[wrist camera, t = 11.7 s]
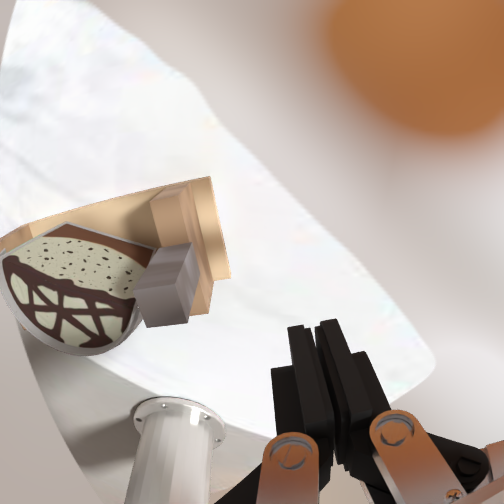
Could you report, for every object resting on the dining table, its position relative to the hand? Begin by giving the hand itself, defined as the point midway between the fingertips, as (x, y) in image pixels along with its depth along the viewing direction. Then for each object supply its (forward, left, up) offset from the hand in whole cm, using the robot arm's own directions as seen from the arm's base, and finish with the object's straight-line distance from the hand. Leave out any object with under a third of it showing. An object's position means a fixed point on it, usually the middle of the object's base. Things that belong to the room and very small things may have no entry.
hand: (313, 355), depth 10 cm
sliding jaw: (0, +7, -17) cm, 18 cm away
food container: (-1, +16, -17) cm, 23 cm away
